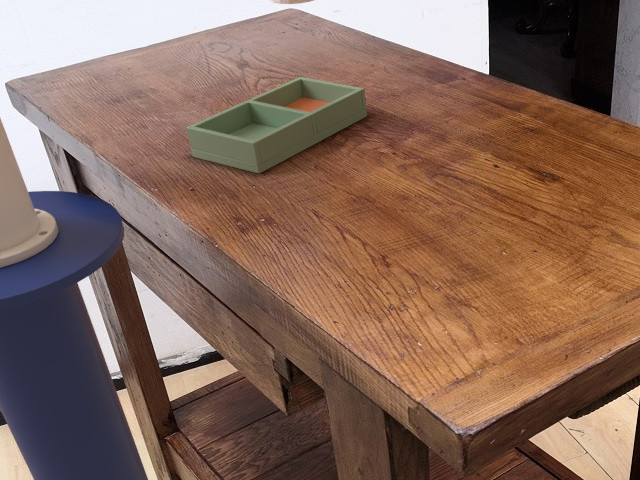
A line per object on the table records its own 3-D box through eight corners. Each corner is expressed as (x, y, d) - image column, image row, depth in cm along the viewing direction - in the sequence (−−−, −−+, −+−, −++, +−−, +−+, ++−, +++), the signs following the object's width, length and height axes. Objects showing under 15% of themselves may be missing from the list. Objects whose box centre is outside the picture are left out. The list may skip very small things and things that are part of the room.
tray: (259, 174, 92) (253, 143, 90) (192, 157, 97) (185, 127, 95) (367, 116, 105) (364, 88, 103) (304, 103, 110) (300, 76, 107)
